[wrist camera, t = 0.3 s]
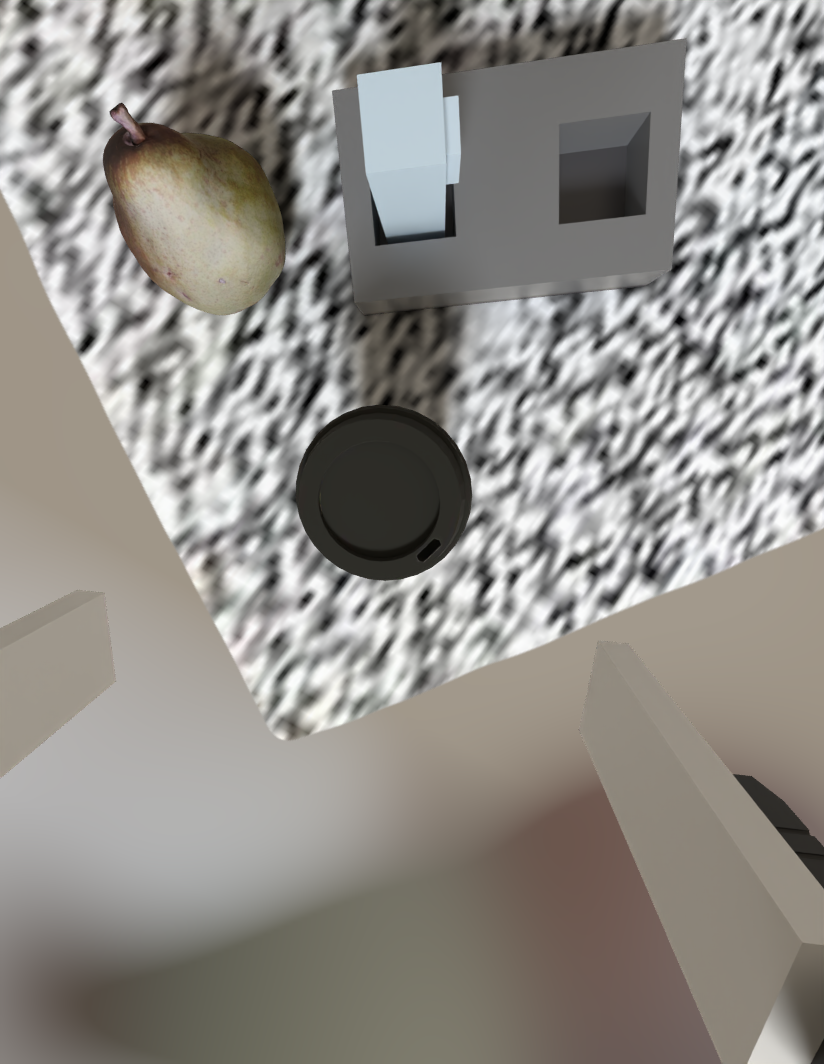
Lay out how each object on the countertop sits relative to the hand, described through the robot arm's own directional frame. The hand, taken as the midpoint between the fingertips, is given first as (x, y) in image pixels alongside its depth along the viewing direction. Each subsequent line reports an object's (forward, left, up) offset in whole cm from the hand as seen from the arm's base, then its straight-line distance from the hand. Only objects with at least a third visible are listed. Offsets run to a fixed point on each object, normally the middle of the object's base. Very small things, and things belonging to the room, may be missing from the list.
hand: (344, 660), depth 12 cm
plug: (-20, +2, -26) cm, 33 cm away
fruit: (-19, -11, -27) cm, 35 cm away
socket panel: (-20, +8, -27) cm, 34 cm away
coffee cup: (-2, 0, -27) cm, 27 cm away
